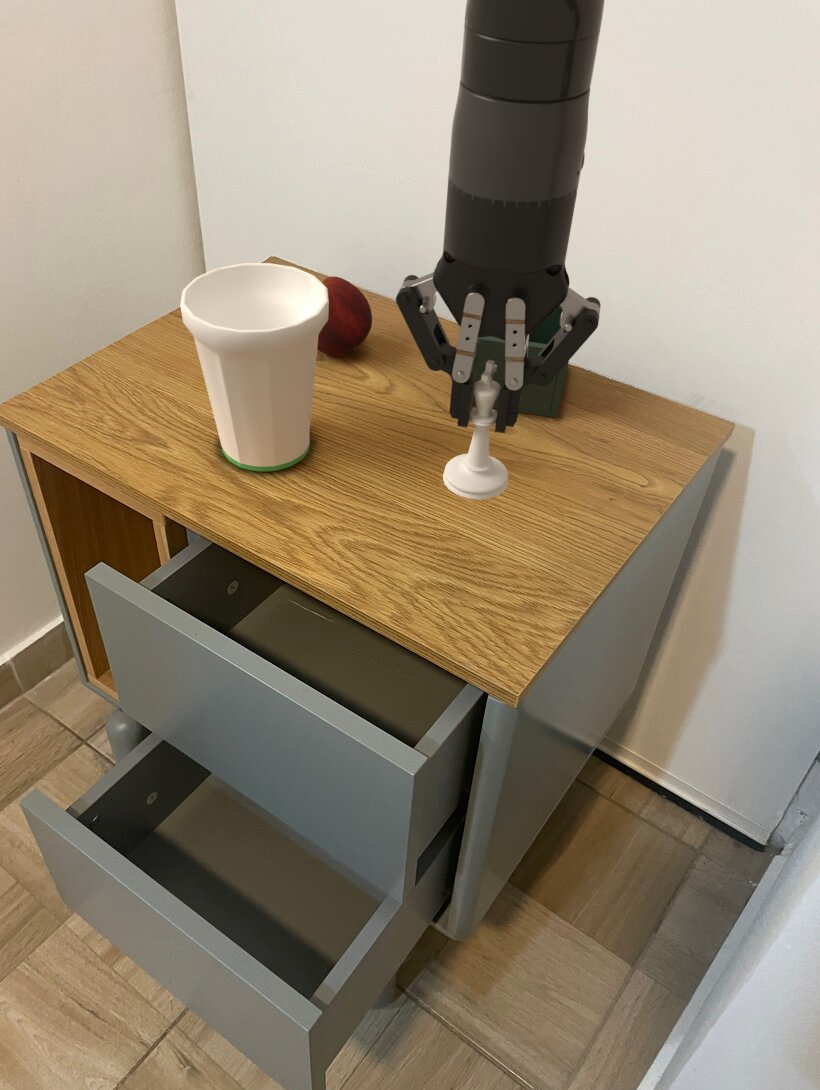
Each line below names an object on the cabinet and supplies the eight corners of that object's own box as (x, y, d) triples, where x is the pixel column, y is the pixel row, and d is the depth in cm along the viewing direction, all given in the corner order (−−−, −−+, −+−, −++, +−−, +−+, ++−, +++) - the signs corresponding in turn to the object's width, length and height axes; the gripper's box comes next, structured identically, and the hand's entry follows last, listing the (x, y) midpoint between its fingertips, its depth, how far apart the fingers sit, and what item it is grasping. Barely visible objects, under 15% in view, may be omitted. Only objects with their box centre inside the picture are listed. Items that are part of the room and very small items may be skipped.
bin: (564, 369, 95) (578, 304, 90) (557, 418, 89) (570, 351, 83) (477, 356, 97) (485, 292, 91) (463, 403, 90) (470, 337, 85)
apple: (326, 326, 101) (326, 258, 95) (384, 346, 98) (387, 277, 92) (289, 354, 96) (286, 284, 90) (349, 375, 93) (349, 305, 88)
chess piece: (432, 487, 66) (442, 369, 59) (458, 453, 69) (471, 336, 62) (493, 507, 64) (511, 388, 57) (517, 471, 67) (537, 354, 60)
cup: (176, 437, 85) (152, 287, 74) (282, 395, 90) (274, 249, 80) (247, 503, 78) (232, 348, 67) (357, 453, 84) (359, 302, 73)
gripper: (382, 182, 49) (377, 439, 61) (634, 208, 47) (576, 469, 59) (409, 138, 54) (399, 383, 67) (638, 159, 52) (583, 409, 64)
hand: (483, 423), depth 63 cm, fingers closed on chess piece
